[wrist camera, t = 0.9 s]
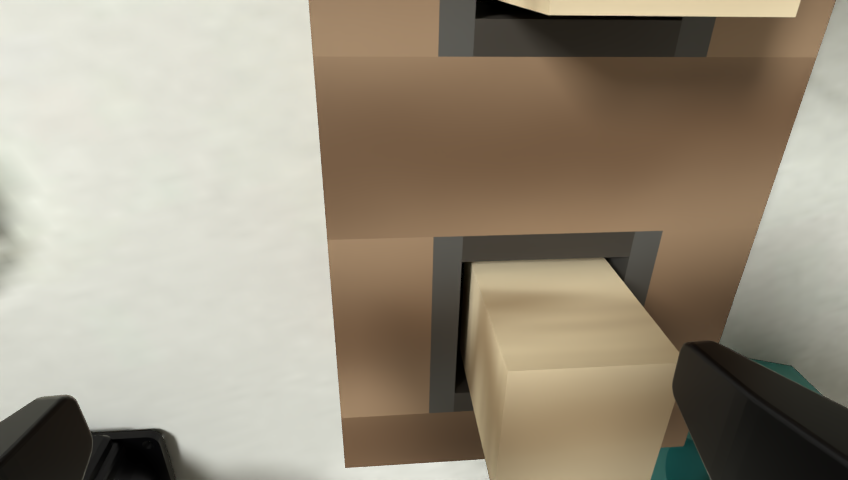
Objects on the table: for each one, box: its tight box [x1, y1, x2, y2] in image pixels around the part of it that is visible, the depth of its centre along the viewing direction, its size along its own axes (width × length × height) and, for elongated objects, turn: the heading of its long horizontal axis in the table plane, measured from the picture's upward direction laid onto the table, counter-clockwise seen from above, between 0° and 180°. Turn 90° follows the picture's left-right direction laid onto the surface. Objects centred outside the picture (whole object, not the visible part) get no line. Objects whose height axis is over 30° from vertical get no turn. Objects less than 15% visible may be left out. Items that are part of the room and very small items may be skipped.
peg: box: [460, 258, 679, 480], centre depth 15 cm, size 4×4×6 cm
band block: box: [309, 0, 836, 468], centre depth 16 cm, size 22×12×6 cm, turn 179°
